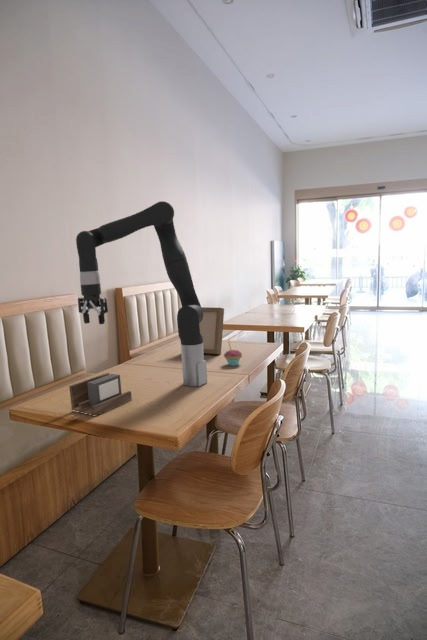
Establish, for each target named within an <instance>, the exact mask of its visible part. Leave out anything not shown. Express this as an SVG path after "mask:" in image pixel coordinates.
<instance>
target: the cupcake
mask: <svg viewBox="0 0 427 640" xmlns="http://www.w3.org/2000/svg"><path fill="white" fill-rule="evenodd" d="M228 346H229V350H227V351H226V352H225V353H224V355H223V357H224V359H226V362H227V364H228V366H232V367H234V366H235V367H236V366H239V364H240V359H241V358H242V357H243V354H242V353H243V352H241V351H240V350H236V349H232V346H231V342H230V340H228Z"/></svg>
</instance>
